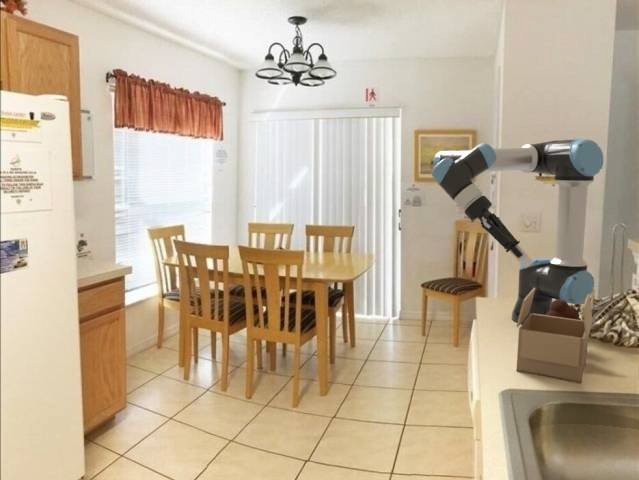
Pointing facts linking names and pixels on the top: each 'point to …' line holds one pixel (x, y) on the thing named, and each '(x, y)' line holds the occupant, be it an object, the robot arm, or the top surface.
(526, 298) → the carton flap
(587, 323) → the carton flap
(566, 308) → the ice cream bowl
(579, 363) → the carton
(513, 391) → the top surface
